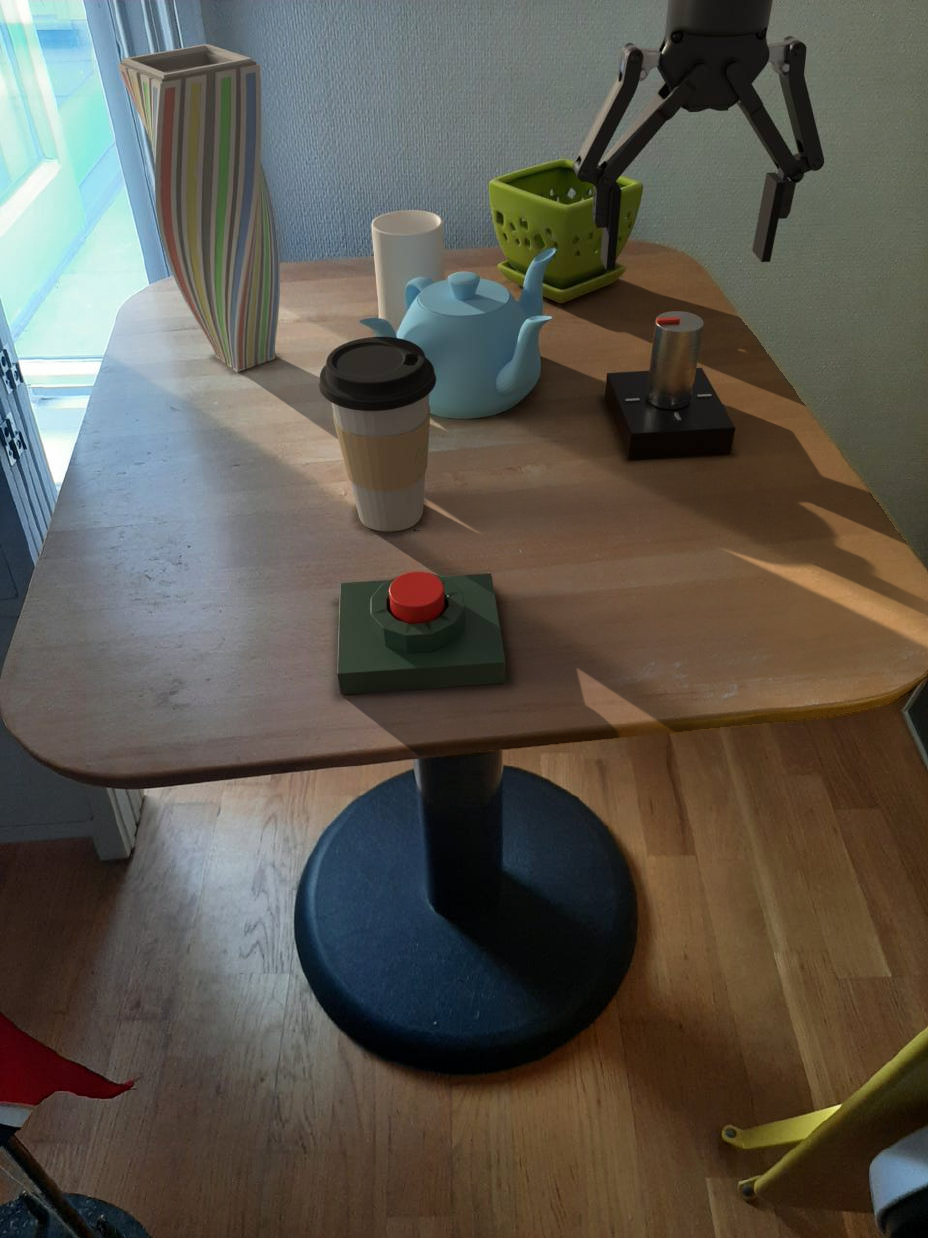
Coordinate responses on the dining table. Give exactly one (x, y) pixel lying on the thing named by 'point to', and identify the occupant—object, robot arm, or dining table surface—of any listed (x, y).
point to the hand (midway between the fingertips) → (684, 260)
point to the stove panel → (667, 420)
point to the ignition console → (419, 639)
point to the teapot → (475, 339)
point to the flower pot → (557, 227)
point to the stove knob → (674, 359)
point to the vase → (213, 193)
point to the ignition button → (416, 597)
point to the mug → (405, 257)
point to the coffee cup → (382, 425)
